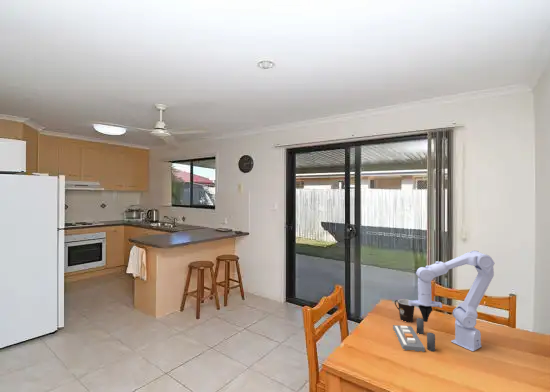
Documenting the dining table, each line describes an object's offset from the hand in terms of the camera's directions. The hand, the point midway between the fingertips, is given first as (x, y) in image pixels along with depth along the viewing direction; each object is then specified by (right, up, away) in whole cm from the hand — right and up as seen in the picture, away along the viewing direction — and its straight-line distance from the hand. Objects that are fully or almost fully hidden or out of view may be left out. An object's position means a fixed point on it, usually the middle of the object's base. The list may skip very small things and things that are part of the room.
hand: (425, 321), depth 133 cm
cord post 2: (-1, -10, -7) cm, 12 cm away
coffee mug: (+2, -10, +24) cm, 26 cm away
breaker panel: (-8, -10, +2) cm, 13 cm away
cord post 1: (+2, -10, +7) cm, 12 cm away
